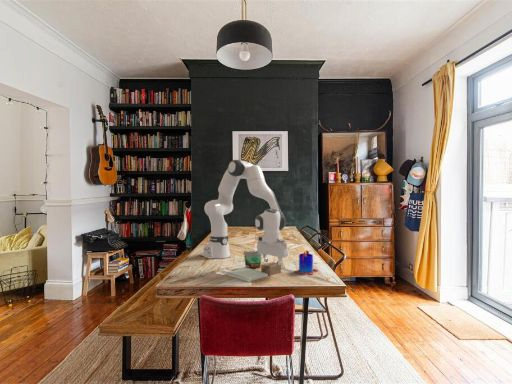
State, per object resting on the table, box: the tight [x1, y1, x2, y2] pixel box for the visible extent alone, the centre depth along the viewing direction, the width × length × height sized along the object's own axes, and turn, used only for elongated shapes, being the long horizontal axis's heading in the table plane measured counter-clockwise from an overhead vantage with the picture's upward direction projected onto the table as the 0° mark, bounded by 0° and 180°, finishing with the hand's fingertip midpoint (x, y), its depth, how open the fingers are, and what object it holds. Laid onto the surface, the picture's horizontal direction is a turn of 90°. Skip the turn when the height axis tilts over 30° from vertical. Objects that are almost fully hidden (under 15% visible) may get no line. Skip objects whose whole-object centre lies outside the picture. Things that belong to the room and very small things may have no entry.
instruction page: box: [214, 269, 232, 276], centre depth 174 cm, size 6×9×1 cm, turn 144°
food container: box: [242, 250, 263, 270], centre depth 184 cm, size 12×6×10 cm, turn 117°
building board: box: [225, 266, 269, 283], centre depth 168 cm, size 18×14×2 cm
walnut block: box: [260, 261, 282, 277], centre depth 173 cm, size 6×9×5 cm
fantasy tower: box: [293, 250, 319, 276], centre depth 175 cm, size 12×12×12 cm
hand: (272, 263), depth 173 cm, fingers open, 8 cm apart
